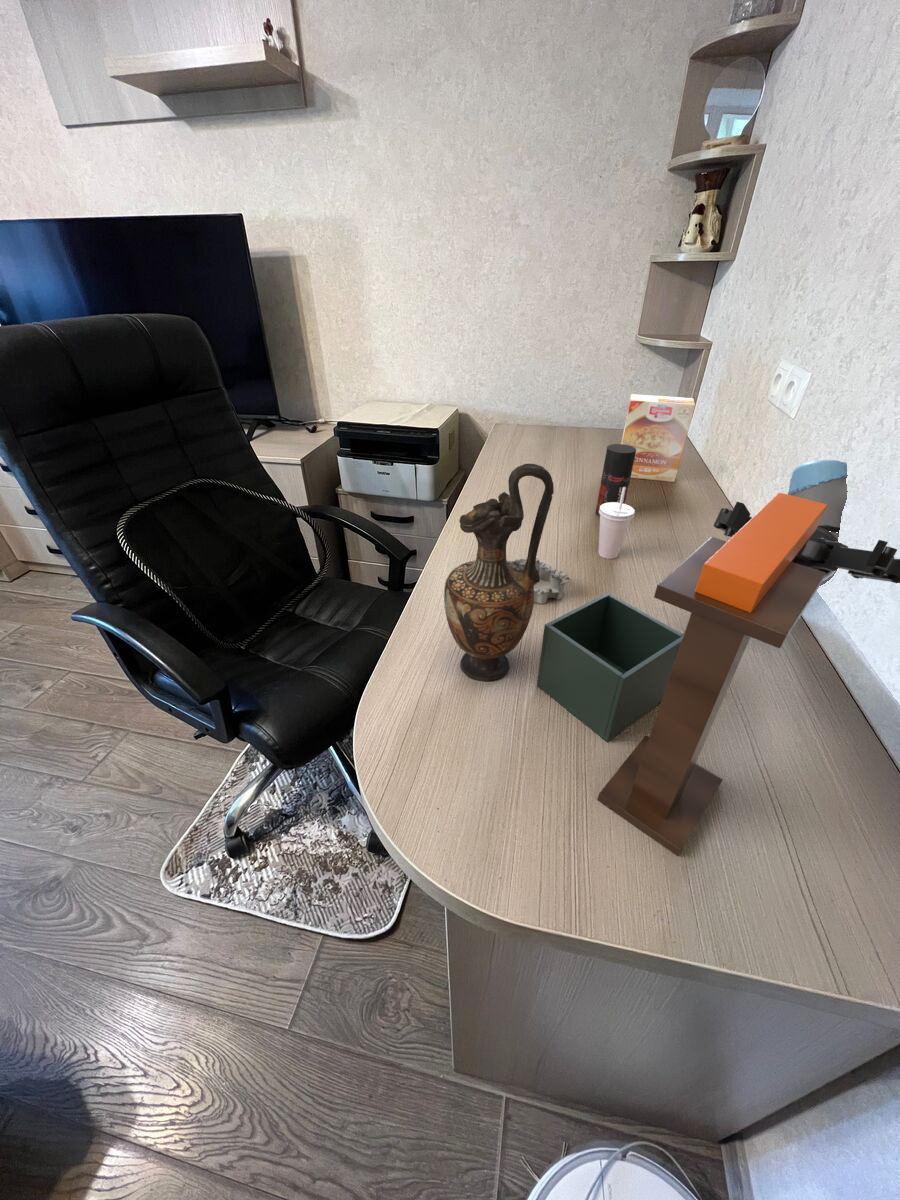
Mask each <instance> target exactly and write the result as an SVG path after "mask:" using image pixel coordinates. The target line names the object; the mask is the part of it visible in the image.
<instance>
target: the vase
mask: <svg viewBox="0 0 900 1200" xmlns="http://www.w3.org/2000/svg"><path fill="white" fill-rule="evenodd" d="M524 477H533V478H536V479H538V480H540V481H542V483H543V485H544V490H543V493H542V497H541V499H540V502H539V505H538V508H537V512H536V514H535V515H536V516H535V519H534V523H533V527H532V531H531V535H530V541H529V545H528V549H527V550H528V551H527V557H526V558H527V562H526V565H525V568H524V570H523V569H521V568H520V567H518V566H516V565H515V564H512V563H509V562H507V561H508V559H507V544H508V540H509V538H510V536H511V535H512V534H513V532H517V531H518V530H519V529H520V528H521V527H522V524H523V520H524V517H525V515H524V514H525V513H524V507H523V502H522V498H521V494H520V487H519V484H520V483H519V482H520V480H521V479H522V478H524ZM507 483H508V493H507V492H506V491H503V492H501V493H500V494H499V495H498V496H497V499H496V498H489V499H488V500H487V501H485V502H480V503H477V504H475V505H473V506H472V508H473V509H472V510H471V511H469V512H467V513H466V514H461V516H460V517H459V519H458V520H459V527H460V530H461V531H462V532H463V533H466V534H472V533H473V535H474V536H475V539H476V541H477V550H476V558H475V560H470V561H467V562H464V563H461V564H460V565H458V566H457V567H455V568H454V569H452V570H451V571H450V572H449V574H448V575H447V578H446V580H445V582H444V583H445V584H444V591H443V592H444V593H443V595H444V596H443V599H444V600H443V601H444V612H445V616H446V617H445V618H446V622H447V624H448V628H449V630H450V633H451V636H452V638H453V640H454V641H455V643H456V644H457V646H458V647H459V648H460V649H461V650H462V651H463V652H464V654H463V655H462V657H461V659H460V662H459V664H460V665H459V666H460V670H461V671H462V672H463V674H464V675H465V676H466V677H468V678H470V679H472V680H475V681H480V682H491V681H495V680H499V679H502V678H503V677H504V676H505V675H507V673H508V672H509V671H510V667H511V665H510V660H509V658H508V657H507V654H508V653H510V652H511V651H513V650H514V649H515V648H516V647H517V646H518V644H519V643H520V642H521V640H522V638H523V637H524V635H525V634H526V631H527V629H528V626H529V623H530V620H531V617H532V615H533V609H534V604H535V602H534V584H535V583H537V582H539V581H540V575H539V572H538V571H537V569H536V565H535V564H536V558H537V555H538V551H539V547H540V542H541V538H542V535H543V532H544V528H545V525H546V520H547V517H548V514H549V511H550V510H549V509H550V507H551V504H552V502H553V501H552V500H553V495H554V493H555V489H554V488H555V487H554V481H553V477H552V474H551V473H550V472H549V471H548V470H547V469H546V468H545V467H544V466H542V465H539V464H536V463H523V464H521V465H519V466H516V467H515V468H514V469H512V471H511V472H510V474H509V477H508V482H507Z"/></svg>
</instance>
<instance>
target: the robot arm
mask: <svg viewBox="0 0 900 1200" xmlns="http://www.w3.org/2000/svg"><path fill="white" fill-rule="evenodd" d="M847 463H848V462H846V461H841V460H836V459H835V460H834V459H824V460H823V459H822V460H821V459H820V460H814V461H807V462H805V463H802V464H800V465H798V466H796V467H795V468H794V469H793V471H792V473H791V476H790V477H791V478H790V481H789V487H788V491H787V495H791V496H795V497H799V498H803V499H807V500H811V501H816V502H820V503H824V504H827V507H826V509H825V512H824V514H823V516H822V518H821V520H820V523H819V525H818V527H817V529H816V530H815V532H814V533H813V534H812V535H811V537H810V538H809V539H808V541H807V542H806V543H805V544H804V546H803V547H802V548H801V550H800V551H799V552H798V553H797V555H796V556H795V557H794V559H793V560H792V561H791V562H794V563H797V564H800V565H803V566H806V567H810V568H813V569H816V570H819V571H822V572H826V575H825V577H824V579H823V581H822V583H821V585H823V584H825V583H826V582H827V581H829V580H830V579H831V578H832V577H833V576H834V574H835V573H836V571H837V569H838V568H839V570H840V569H841V570H846V571H847V574H849V575H850V576H851V577H852V578H854V579H857V580H859V579H861V580H863V579H868V580H875V581H883V582H889V583H894V584H900V558H895V555H896V554H897V552H898V549H897V548H895V547H892V546H887V545H888V543H889V542H888V541H885V540H882V539H878V540H877V541H876V544H875V546H874V547H873V550H868V549H867V550H866V549H859V548H852V547H849V546H848V545H846V544H844V543H839V542H838V537H839V530H840V523H841V516H842V511H843V509H844V506H845V503H846V500H847V492H848V491H847V484H846V478H847V476H848V475H847ZM752 518H753V516H751V512H750V511H749V510H748V508H747V506H746V505H745V503H743V502H740V501H736V502H735V504H734V507H733V509H732V510H731V509H729V508H726V507H725V508H724V507H723V508H721V509H720V511H719V513H718V515H717V517H716V519H715V521H714V523H713V527H714V528H715V529H718V530H721V531H722V532H724V533H723V536H725V537H728V538H729V537H730V538H732V537H733V536H734V535H735V534H736V533H737V532H738V531H739V530H740V529H741V528H742V527H743V526H744V525H745V524H746V523H747V522H749V521H750V520H751V519H752ZM829 531H831V532H829ZM836 532H838V533H836ZM821 585H820V586H821Z"/></svg>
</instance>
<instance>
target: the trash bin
mask: <svg viewBox="0 0 900 1200" xmlns="http://www.w3.org/2000/svg"><path fill="white" fill-rule="evenodd" d="M683 636H684V634H683V633H681V632H680V631H677V630H676V629H674V628H672V627H671V626H669V625H666V624H665V623H663V622H661V621H660V620H658V619H656V618H655V617H653V616H651V615H649V614H647V613H645V612H643V611H642V610H640V609H638V608H637V607H635V606H633V605H631V604H629V603H627V602H625V601H624V600H622V599H620V598H618V597H617V596H615V595H613V594H611V592H606V593H604V594H602V595H599V596H598V597H596V598H594V599H592V600H590V601H588V602H586V603H584V604H582V605H580V606H578V607H576V608H574V609H572V610H570V611H568V612H567V613H565V614H563V615H560V616H559V617H557V618H555V619H553V620H550V621H549V622H547V623H545V624H544V626H543V635H542V642H541V648H540V649H541V650H540V657H539V664H538V672H537V679H536V680H537V681H536V686H537V687H538V688H539V689H541V691H543V692H544V693H546V694H547V696H549V697H550V698H552V699H553V700H554V701H555V702H557V703H558V704H559V705H560V706H561V707H562V708H564V709H565V710H566V711H567V712H569V713H570V714H571V715H573V716H574V717H575V718H576V719H578V720H579V721H580V722H581V723H582V724H584V725H585V726H586V727H587V728H589V729H590V730H591V731H593V732H594V733H595V734H596V735H598V737H600V738H601V739H602V740H604V741H605V742H606V743H609V742H610V741H611V740H613V739H614V738H616V737H617V736H619V735H620V734H621V733H623V732H624V731H625V730H626V729H628V728H629V727H630V726H632V725H633V724H635V723H636V722H637V721H638V720H641V718H643V717H645V715H647V714H648V713H650V712H652V710H654V709H655V708H656V707H658V706H660V704H661V701H662V698H663V695H664V692H665V689H666V686H667V684H668V681H669V678H670V675H671V672H672V669H673V666H674V663H675V660H676V657H677V654H678V651H679V648H680V645H681V642H682V639H683Z"/></svg>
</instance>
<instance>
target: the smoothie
mask: <svg viewBox="0 0 900 1200" xmlns="http://www.w3.org/2000/svg"><path fill="white" fill-rule="evenodd" d="M625 490H626V487H623V489H622V494H621V498H620V503H617V502H609V503H604V504H602V505H601V506H600V510H599V514H600V517H599V532H598V533H599V536H598V555H599V556H600V557H601V558H603V559H606V560H607V559H608V560H613V559H616V558H618V556H619V554H620V550H621V548H622V546H623V543H624V540H625V537H626V534H627V531H628V529H629V526H630V524H631V521H632V520H633V519H634V517H635V512H636V511H635V509H634V507H632V506H631V505H629V504H626V503H625V504H623V499H624V495H625Z"/></svg>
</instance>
